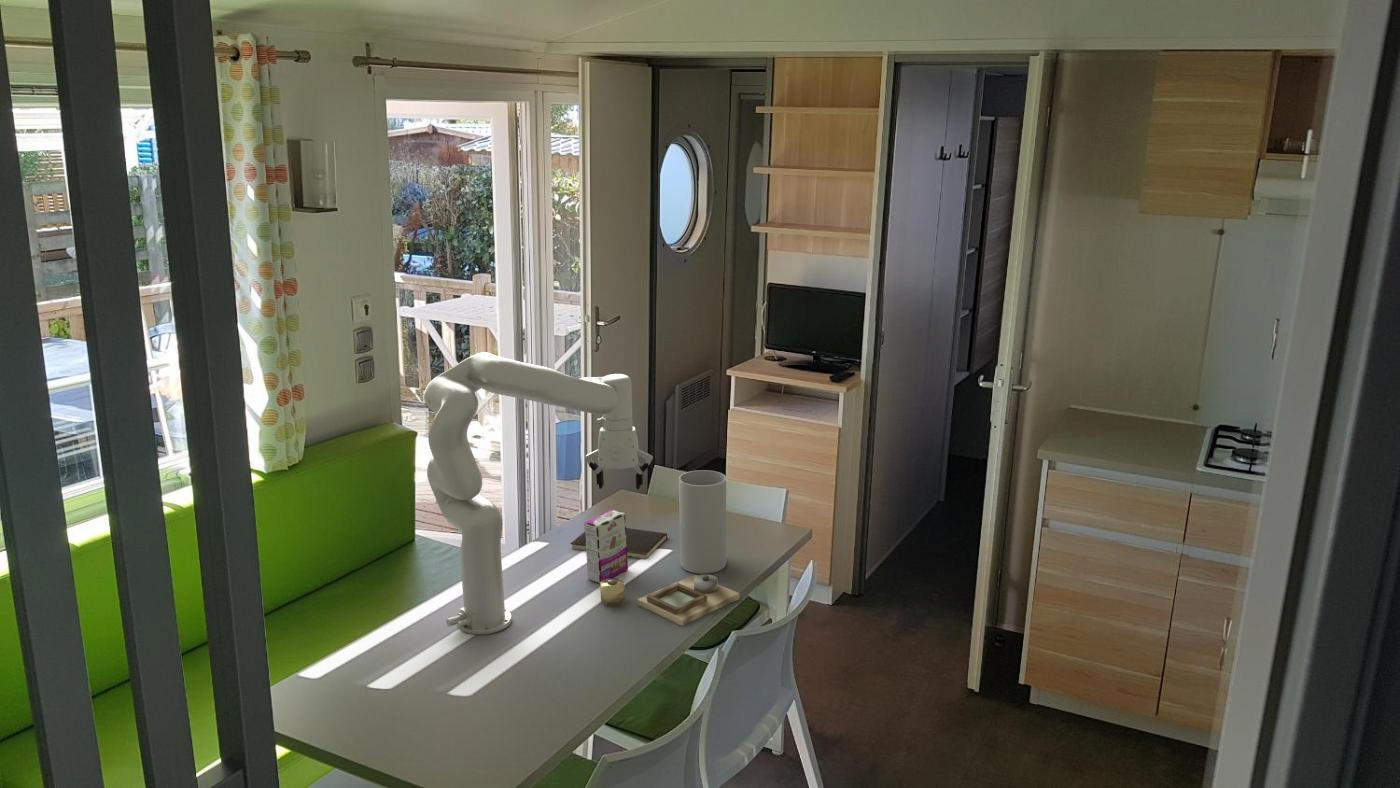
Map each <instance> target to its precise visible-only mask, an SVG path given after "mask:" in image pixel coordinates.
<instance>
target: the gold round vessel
mask: <svg viewBox="0 0 1400 788" xmlns="http://www.w3.org/2000/svg"><path fill="white" fill-rule="evenodd" d="M599 586H600V604H601V605H603V606H606V607H609V608H610V607H612V608H613V607H619V606H621V605H623V604H625V602H626V595H625V593H626V591H625V581H624V579H621V578H619V577H613V578H607V579H604V580H602V581H601V583H599Z"/></svg>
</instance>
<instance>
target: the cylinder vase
mask: <svg viewBox="0 0 1400 788" xmlns="http://www.w3.org/2000/svg"><path fill="white" fill-rule="evenodd" d="M678 497H679V498H678V501H679V502H678V505H679V508H678V509H679V512H678V513H679V514H678V515H679V555H680V556H679V560H680V562H679V563H680V567H682V569H684V570H685V571H687V572H688V573H691V574H696V575H697V574H699V575H710V574H715V573H717V572H720V571H721V570H723V569H724V568H725V567H726V565H727V560H728V559H727V476H726V475H725V474H724V473H722V472H719V471H715V470H705V469H704V470H703V469H702V470H701V469H700V470H691V471H687V472H684V473H681V475H680V476H679V477H678Z"/></svg>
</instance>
